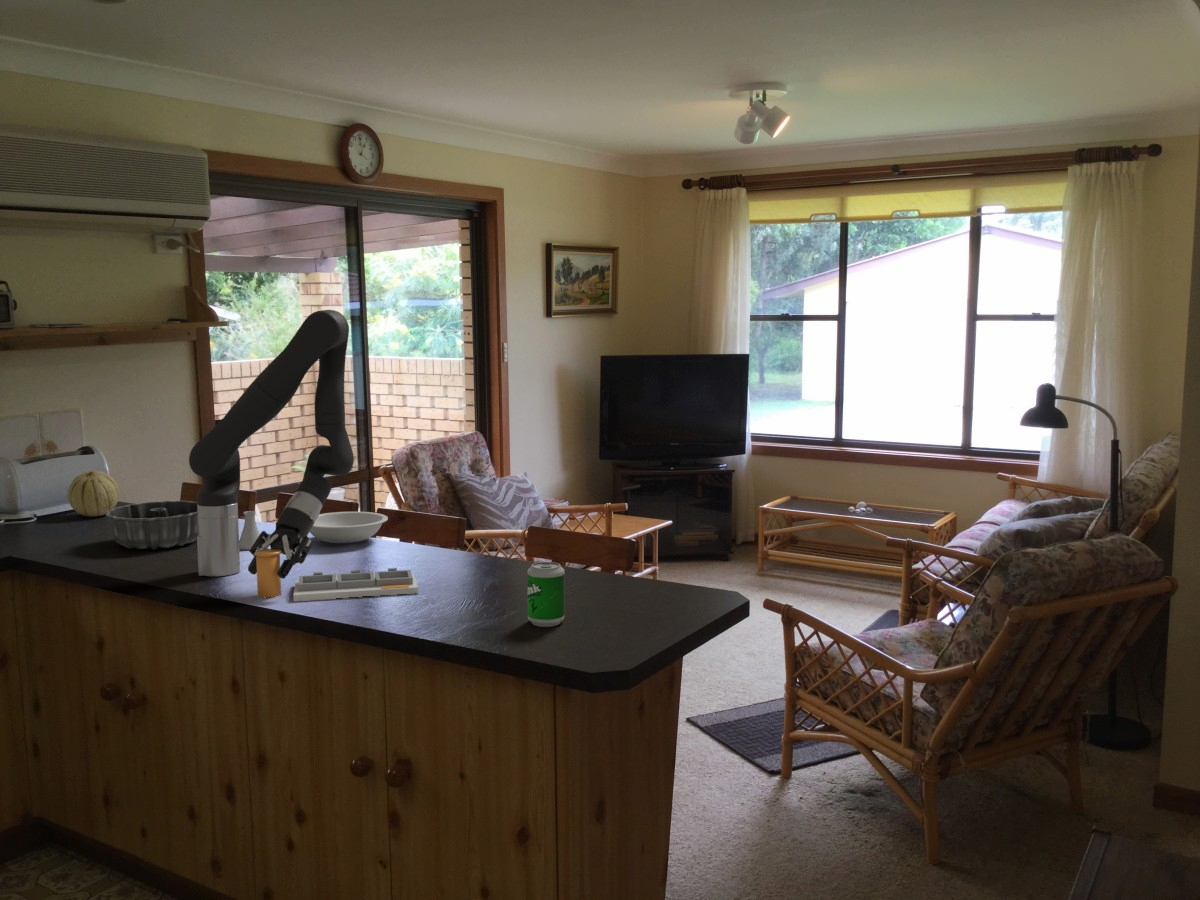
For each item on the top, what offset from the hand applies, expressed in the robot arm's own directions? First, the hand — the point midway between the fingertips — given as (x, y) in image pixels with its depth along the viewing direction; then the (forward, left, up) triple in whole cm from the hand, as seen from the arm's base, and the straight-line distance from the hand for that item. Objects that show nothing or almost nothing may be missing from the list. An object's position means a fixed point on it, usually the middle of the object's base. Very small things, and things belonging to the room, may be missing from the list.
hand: (265, 574), depth 221 cm
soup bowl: (+18, +56, -5) cm, 59 cm away
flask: (-7, +54, -5) cm, 55 cm away
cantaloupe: (-59, +115, -5) cm, 129 cm away
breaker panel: (+20, +1, -5) cm, 20 cm away
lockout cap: (+1, +1, -5) cm, 5 cm away
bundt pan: (-32, +66, -5) cm, 74 cm away
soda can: (+57, -35, -5) cm, 67 cm away
